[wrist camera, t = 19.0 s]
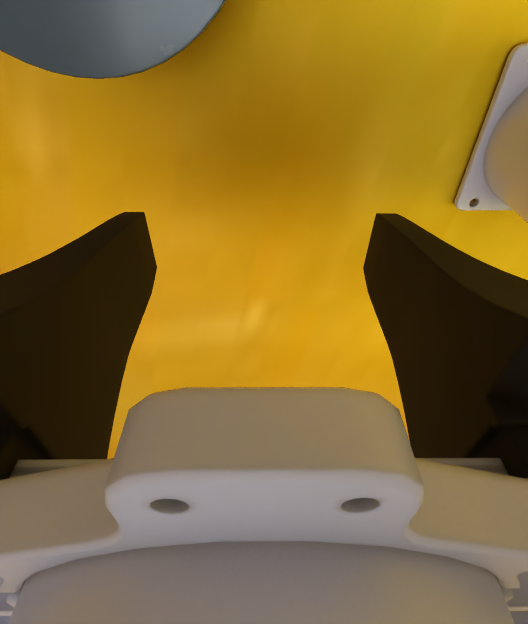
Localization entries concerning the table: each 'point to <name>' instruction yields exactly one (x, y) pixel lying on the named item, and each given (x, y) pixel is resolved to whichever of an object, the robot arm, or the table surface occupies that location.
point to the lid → (101, 33)
